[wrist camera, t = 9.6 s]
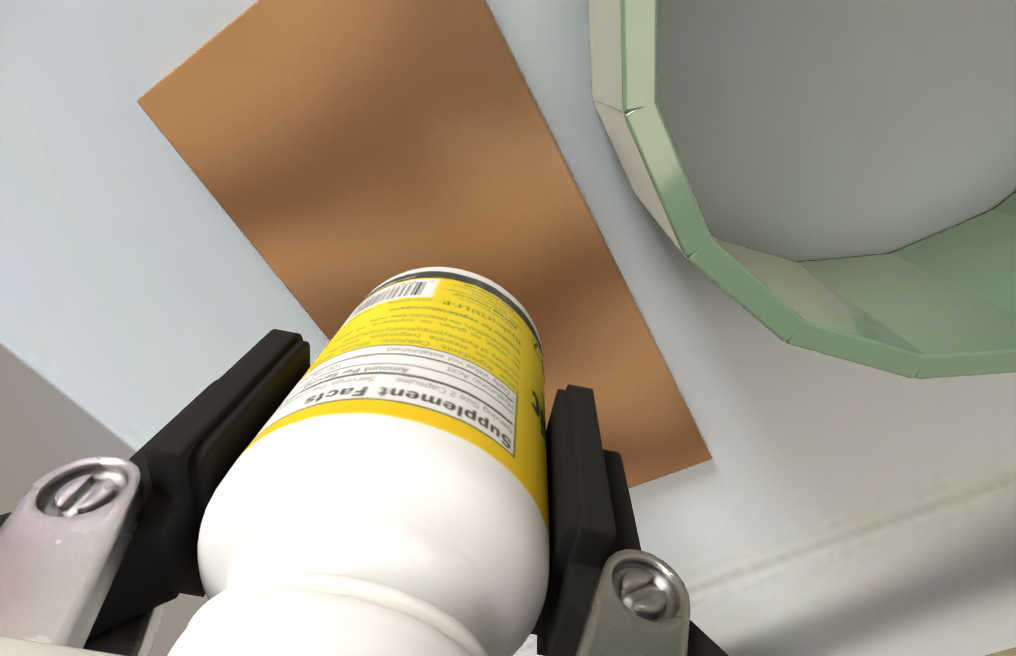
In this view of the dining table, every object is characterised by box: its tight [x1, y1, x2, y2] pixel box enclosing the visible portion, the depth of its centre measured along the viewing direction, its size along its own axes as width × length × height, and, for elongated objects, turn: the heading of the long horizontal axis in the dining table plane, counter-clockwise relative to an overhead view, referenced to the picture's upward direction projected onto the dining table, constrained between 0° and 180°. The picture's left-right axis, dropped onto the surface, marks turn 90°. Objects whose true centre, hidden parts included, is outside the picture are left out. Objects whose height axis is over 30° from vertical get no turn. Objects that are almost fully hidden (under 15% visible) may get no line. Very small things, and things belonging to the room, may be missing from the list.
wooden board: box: [137, 0, 712, 488], centre depth 17 cm, size 20×10×1 cm, turn 30°
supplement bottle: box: [167, 267, 550, 656], centre depth 9 cm, size 5×5×10 cm
